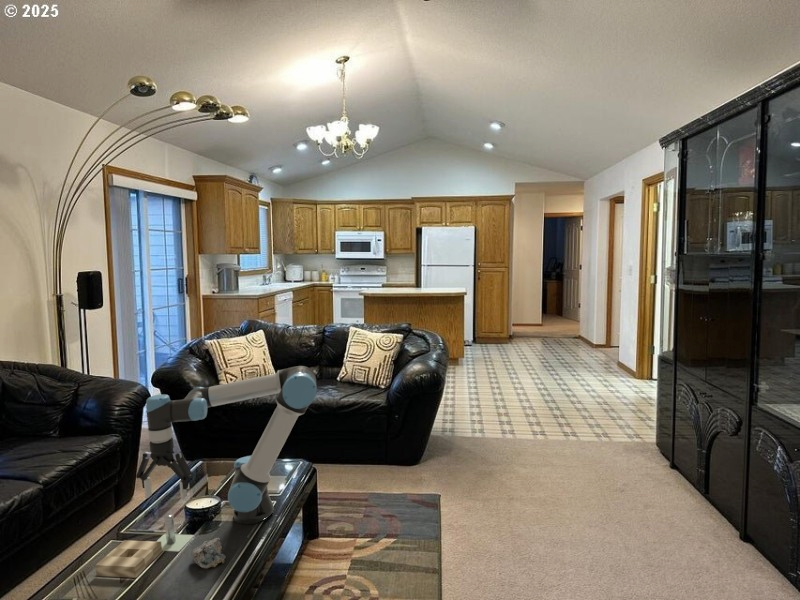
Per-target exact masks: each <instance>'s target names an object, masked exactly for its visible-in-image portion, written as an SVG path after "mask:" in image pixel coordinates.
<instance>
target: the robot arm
mask: <svg viewBox="0 0 800 600" xmlns="http://www.w3.org/2000/svg"><path fill="white" fill-rule="evenodd" d="M317 392H318V386H317V377H316V374H315V372H314V371H313V370H312V369H311V368H309V367H308V366H305V365H298V366H291V367H288V368H283V369H278V370H277V372H276V373H272V374H267V375H263V376H257V377H252V378H248V379H242V380H238V381H234V382H228V383H221V384H218V385H217V384H216V385H213V386H208V387H204V386H197V387H194V388H193V389H191V390H190V391H189V392H188V394H187V395H186V396H185V397H184V398H183V399H175V400H171V398H170V395H168V394H155V395H152V396H151V395H150V396H149V397H147V399H146V401H145V402H146V403H145V405H146V409H145V410H146V411H145V412H146V419H147V430H148V431H147V433H148V440H149V450H147V451H145V452H143V453H142V460H141V462H140V465H139V468H138V470H137V473H136V475H135V478H136V479H140V480H141V485H142V488H143V489H144V498H145V499H149V498H150V497H151V496H152V495H153V491H152V490H153V489H152V481H151V476H150V475H151V473H152V472H153V470H154V469H155V468H156V466H159V467H160V466H163V467H168V468H170V469H171V470H172V472H174V473H175V476H177V477H178V478H179V479H180V480H179V491H180V494H179V495H180V499H181V500H184V499H185V498H186V497H188V488H189V480H190V479H191V478H192V477H194V474H193V472H192V471H191V468H190V467H189V465H188V463H187V462H186V459H185V458H184V455H183V451H182V450H181V451H178V452H175V451H174V438H173V435H174V434H173V426H172V425H173V424H172V423H177V422H180V423H181V422H190V421H191V422H192V421H194V422H196V421H199V420H200V421H201V420H205V418H207V415H208V408H211V407H217V406H222V405H226V404H227V405H228V404H231V403H237V402H242V401H246V400H251V399H252V400H253V399H256V398H261V397H266V396H267V397H268V396H270V395H276V394H278V395H277V397H276V399H275V402H276V404H277V406H276V408H275V409H274V411H273V414H272V415H271V417H270V419H269V421H268V423H267V425H266V426H265V428H264V431H263V432H262V435H261V437H260V438H259V440H258V442H257V444H256V446H255V448H254V450H253V452H252V454H251V455H246V456H243V457H240V458H238V459H236V460H235V461H234V466H233V468H234V476H233V479H232V481H231V484H230V488H229V489H228V492H227V501H228V503H229V506H230V507H231V508H232V509H233V520H234V522H236V523H238V524H240V525H255V524H259V523H261V522H260V521H262V520H263V519H264V518H266V517H267V516H269V515H270V514H271V513H272V512H273V510H274V511H275V508H274V504H273V501H272V499H271V497H270V495H269V491H268V485H269V483H270V481H271V479H272V477H271V474H270V472H271V471H272V468H273V466H274V464H275V462H276V460H277V459H278V457H279V455H280V452H281V451H282V450H283V449H282V448H283V447H284V445H285V443H286V442H287V439H288V437H289V436H290V434H291V431H292V429H293V427H294V425H295V424H296V421H297V420H298V418H299V416H302V415H304V414H305V413H306V411H307V410H308V408H309V407H310V405H311V404H312V403H313V402H314V400H315V399H316V396H317V394H318V393H317ZM150 458H151V460H152V461H151V463H149V460H150ZM148 463H149V466H148ZM273 513H274V512H273ZM258 522H259V523H258ZM262 522H263V521H262Z"/></svg>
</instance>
